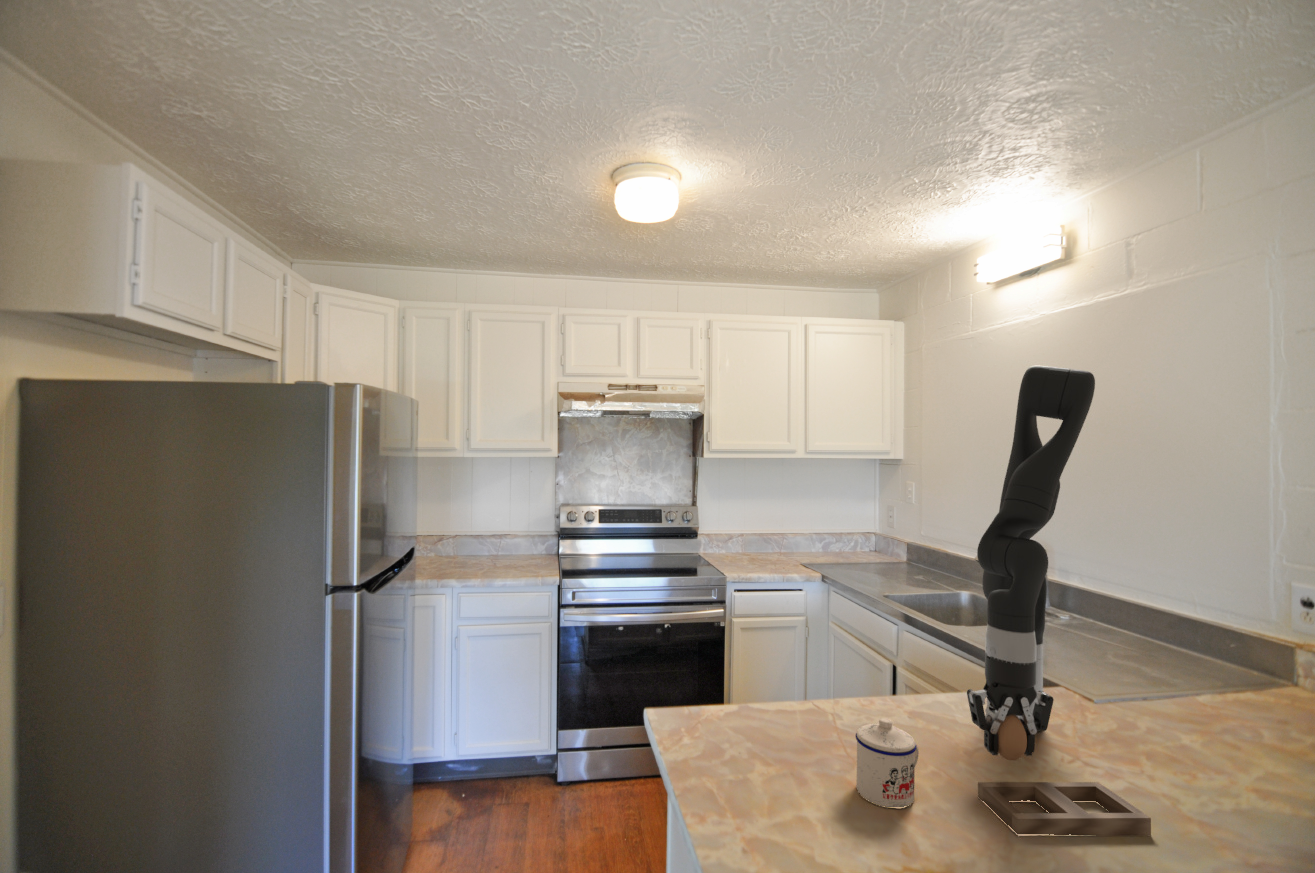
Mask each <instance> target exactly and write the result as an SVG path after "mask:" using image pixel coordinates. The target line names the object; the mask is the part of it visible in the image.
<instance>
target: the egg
mask: <svg viewBox="0 0 1315 873" xmlns="http://www.w3.org/2000/svg"><path fill="white" fill-rule="evenodd" d="M997 734H998V755H999V756H1000V757H1002V759H1004V760H1007V761H1009V762H1010V761H1011V762H1012V761H1013V762H1014V761H1017V760H1019V759H1021V758H1022V757H1023V756H1024V755H1025V754H1024V753H1025V751H1026V747H1027V736H1026V732H1025V729H1024V726H1023V724H1022V722H1021V721H1020V719H1019V718H1018V717H1017V716H1016V715H1014V714H1012V715H1006V717H1005V720H1004V722H1002V723H1001V724H1000V726H999V729H998V731H997Z"/></svg>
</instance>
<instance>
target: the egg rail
mask: <svg viewBox="0 0 1315 873" xmlns="http://www.w3.org/2000/svg"><path fill="white" fill-rule="evenodd" d="M978 797H979V798H980V799H981V800H982V801H984V802H985V803H986V804H987V805H988V806H989V807H990V808H991V809H992V810H993V811H994V812H995V813H996V814H997V815H998V816H999V817H1000V818H1001V819H1002V820H1003V821H1004V822H1005V823H1006V824H1007V825H1009V826H1010V827H1011V828H1012V829H1013V830H1014V831H1015V832H1016V833H1017V834H1049V835H1050V834H1054V835H1069V834H1071V835H1096V836H1095V837H1142V836H1145V837H1147V836H1148V837H1151V836H1152V817H1150V816H1149V815H1148V814H1146V813H1144V812H1143V811H1142V810H1140V809H1139V808H1137V807H1135V806H1134V805H1132V804H1131V803H1129V801H1126V800H1125V799H1124V798H1123V797H1121V796H1119V795H1118V794H1116V793H1115V792H1114V791H1112V790H1110V788H1108V787H1106V786H1105V785H1103V784H1102V783H1100V782H1099V781H1067V782H1066V781H1062V782H1061V781H1049V782H1048V781H1043V782H1042V781H1037V782H1036V781H1034V782H1033V781H1030V782H1029V781H1026V782H1025V781H1024V782H1022V781H1020V782H1019V781H1018V782H1017V781H1013V782H1012V781H1011V782H1010V781H1009V782H1008V781H1006V782H1005V781H999V782H998V781H996V782H995V781H994V782H993V781H990V782H989V781H988V782H986V781H983V782H982V781H978V782H977V798H978ZM1021 800H1023V801H1027V800H1030V801H1036V802H1037V803H1038V804H1039V805H1040V806H1042V807H1043V808H1044V809H1045V810H1047V811H1048V812H1049V813H1046V812H1045V813H1044V812H1035V813H1034V812H1033V813H1032V812H1030V813H1029V812H1028V813H1027V812H1026V813H1022V812H1021V811H1020V810H1019V809H1018V808H1016V806H1014V804H1013V803H1010V802H1009V801H1021ZM1073 801H1096V802H1098V803H1099V804H1100V805H1101V806H1103V807H1104V808H1105V809H1107V810H1108V811H1109V812H1110V813H1109V812H1108V811H1107V812H1087V810H1085V809H1084V808H1082V807H1081V806H1080V805H1078V804H1077V803H1074V802H1073ZM1100 805H1099V806H1100ZM1101 806H1100V807H1101ZM1104 808H1103V809H1104ZM1105 809H1104V810H1105Z"/></svg>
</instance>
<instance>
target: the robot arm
mask: <svg viewBox="0 0 1315 873" xmlns="http://www.w3.org/2000/svg"><path fill="white" fill-rule="evenodd" d="M1095 388H1096V378H1095V375H1094V374H1093V373H1092V372H1091V371H1088V370H1087V371H1086V370H1082V369H1081V370H1080V369H1075V368H1073V369H1071V368H1067V367H1066V368H1065V367H1058V366H1050V365H1039V364H1037V365H1031V366H1029V367H1028V368H1027V369H1026V370H1025V372H1024V374H1023V377H1022V380H1021V383H1020V388H1019V392H1018V399H1017V406H1016V416H1015V421H1014V422H1015V424H1014V433H1013V439H1012V445H1011V446H1012V447H1011V451H1010V456H1009V460H1008V465H1007V468H1006V472H1005V477H1004V482H1003V485H1002V491H1001V496H1000V504H999V510H998V512H997V514H996V515H995V516H994V518H993V519H992V521H991V523H990V524H989V526H988V527H987V528H986V530H985V531H984V533H983V535H982V536H981V538H980V540H979V542H978V546H977V552H976V554H977V555H976V556H977V560H978V563H979V566H980V568H982V569H983V573H982V590H983V591H982V592H983V594H984V598H986V600H987V611H986V614H987V616H986V617H987V618H986V619H987V620H986V621H987V622H986V623H987V624H986V630H985V631H986V632H985V639H984V641H985V642H984V676H985V683H984V684H985V685H984V686H983V687H982V689H979V690H973V689H971V688H970V689H967V690H966V696H967V701H968V705H969V711H970V716H971V721H972V723H973V724H974V725H976V726H977V727H979V729H981V730H982V731H983V732H984V733H983V746H984V748H985V749H986V750H987V752H989V754H990V755H992V756H999V753H998V734H997V731H998V729H999V726H1000V724H1001V723H1002V722H1004V720H1005V717H1006V715H1012V714H1014V715H1016V716H1017V717H1018V718H1019V719H1020V721H1021V722H1022V724H1023V726H1024V729H1025V732H1026V736H1027V747H1026V751H1025V753H1024V754H1023V755H1025V756H1026V757H1033V753H1034V752H1035V749H1036V746H1035V745H1036V744H1035V743H1036V740H1035V739H1036V736H1035V735H1036V734H1037V732H1040V731H1043V732H1045V731H1047V730H1048V726H1049V723H1050V722H1049V721H1050V717H1051V715H1052V714H1051V713H1052V710H1053V704H1054V701H1055V700H1054V697H1053V696H1051V695H1050V694H1048V693H1047V692H1045V691H1044V641H1043V640H1044V633H1045V628H1046V627H1045V626H1046V605H1047V593H1048V590H1047V578H1046V576H1047V572H1048V570H1049V557H1048V553H1047V551H1046V549H1045V547H1044V546H1043V545H1042V544H1041V543H1040V542H1038V541H1037V540H1034V539H1032V537H1034V536H1036V534H1038V532H1040V531H1041V530H1042V529H1043V528H1044V527H1045V526H1046V525H1047V524H1048V523H1049V522H1050V520H1051V519H1052V518H1053V515H1054V514H1055V510H1056V507H1057V503H1058V498H1059V494H1060V488H1061V481H1060V479H1061V478H1062V477H1061V476H1062V474H1063V472H1064V469H1065V468H1066V465H1067V462H1068V461H1069V459H1070V458H1071V455H1072V453H1073V450H1074V448H1075V446H1076V443H1077V441H1078V438H1079V436H1080V433H1081V431H1082V428H1083V427H1084V423H1085V422H1086V419H1087V416H1088V414H1089V412H1090V409H1091V406H1092V402H1093V398H1094V395H1095V394H1094V393H1095ZM1038 417H1042V418H1049V419H1055V420H1061V421H1062V422H1061V425H1060V426H1059V428H1058V430H1057V431H1056V433H1055V434H1054V435H1053V436H1052V437H1051V438H1050V439H1049V440H1048V441H1047V442H1046V443H1045V444H1044V445H1043V443H1042V440H1041V437H1040V435H1039V434H1040V433H1039V428H1038V422H1037V418H1038ZM984 705H986V708H984Z"/></svg>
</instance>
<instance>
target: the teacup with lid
mask: <svg viewBox="0 0 1315 873" xmlns="http://www.w3.org/2000/svg"><path fill="white" fill-rule="evenodd" d="M855 739H856V791H857V790H858V791H857V792H858V794H859V793H860V794H861V795H860V794H859V795H860V796H861V797H862V796H863V797H864V798H865V799H867V800H869V801H870V802H873V803H875V804H877V805H880V806H885V807H904V806H908V805H910V806H912V805H911V803H912V802H913V801H915V768H916V765H917V763H918V761H919V747H918V744H916V741H915V739H914V737H913V736H912V735H910V734H909V733H908V732H906V731H905V730H903V729H901V728H898V727H897V726H894V725H893V722H892V720H891V719H889V718H887V717H883V718H881V717H880V719H879V720H878V722H877V723H869V724H864V725H862V726H860V727H859V728H858V729H857V730H856V732H855ZM863 797H862V798H863ZM864 798H863V799H864ZM865 799H864V800H865ZM867 800H866V801H867ZM869 801H868V802H869ZM870 802H869V803H870ZM913 803H914V802H913ZM877 805H876V806H877ZM880 806H879V807H880Z"/></svg>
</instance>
